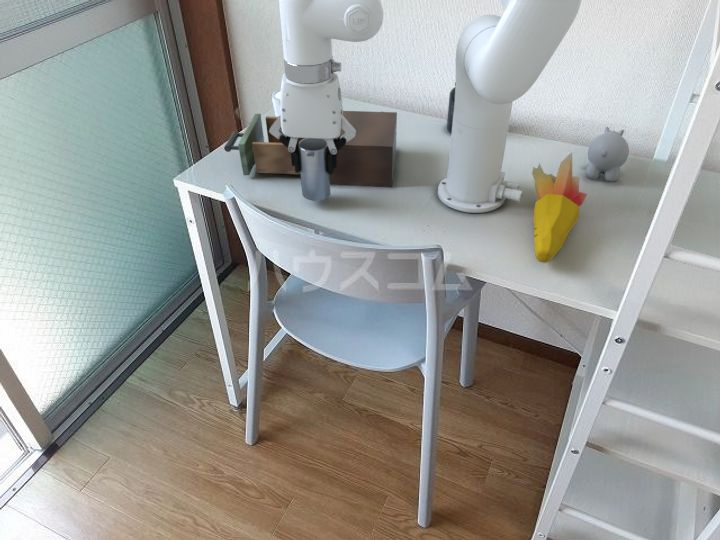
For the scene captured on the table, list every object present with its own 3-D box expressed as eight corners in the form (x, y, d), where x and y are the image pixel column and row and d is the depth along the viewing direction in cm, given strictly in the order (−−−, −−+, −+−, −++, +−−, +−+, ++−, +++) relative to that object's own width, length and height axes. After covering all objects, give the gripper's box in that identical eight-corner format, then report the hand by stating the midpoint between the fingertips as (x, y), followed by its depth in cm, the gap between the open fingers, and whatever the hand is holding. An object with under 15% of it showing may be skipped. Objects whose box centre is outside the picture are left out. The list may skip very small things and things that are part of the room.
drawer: (222, 174, 114) (216, 143, 109) (240, 142, 124) (235, 112, 120) (321, 178, 112) (319, 146, 108) (330, 145, 122) (329, 115, 118)
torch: (530, 286, 94) (548, 191, 110) (580, 279, 89) (592, 181, 105) (512, 250, 89) (534, 157, 105) (563, 241, 85) (578, 145, 101)
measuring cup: (304, 185, 108) (301, 135, 102) (332, 186, 108) (330, 137, 101) (298, 204, 103) (294, 153, 97) (327, 205, 103) (324, 155, 96)
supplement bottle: (481, 135, 127) (489, 81, 119) (452, 138, 126) (457, 85, 118) (470, 121, 132) (477, 69, 124) (442, 124, 131) (446, 72, 123)
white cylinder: (303, 130, 130) (300, 100, 125) (272, 130, 130) (269, 100, 126) (305, 117, 135) (303, 88, 131) (276, 117, 135) (273, 88, 131)
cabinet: (306, 183, 112) (303, 143, 107) (318, 147, 123) (315, 109, 118) (391, 187, 111) (392, 146, 105) (395, 150, 122) (396, 112, 117)
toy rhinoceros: (626, 159, 118) (638, 120, 112) (618, 187, 109) (631, 147, 104) (590, 152, 120) (600, 113, 115) (579, 179, 112) (589, 139, 107)
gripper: (364, 62, 93) (364, 161, 105) (261, 58, 95) (272, 157, 106) (360, 80, 88) (360, 183, 99) (250, 76, 89) (263, 178, 101)
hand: (315, 168), depth 103 cm, fingers closed on measuring cup, 5 cm apart
